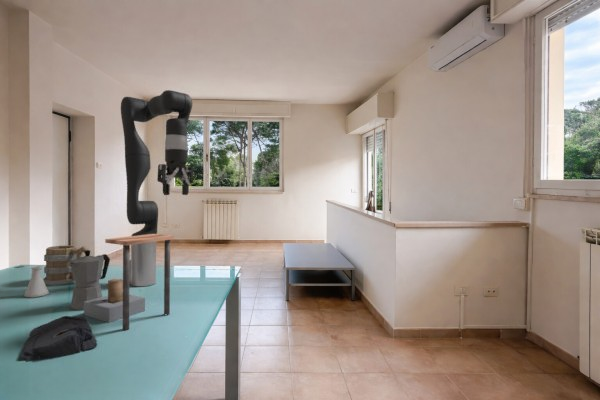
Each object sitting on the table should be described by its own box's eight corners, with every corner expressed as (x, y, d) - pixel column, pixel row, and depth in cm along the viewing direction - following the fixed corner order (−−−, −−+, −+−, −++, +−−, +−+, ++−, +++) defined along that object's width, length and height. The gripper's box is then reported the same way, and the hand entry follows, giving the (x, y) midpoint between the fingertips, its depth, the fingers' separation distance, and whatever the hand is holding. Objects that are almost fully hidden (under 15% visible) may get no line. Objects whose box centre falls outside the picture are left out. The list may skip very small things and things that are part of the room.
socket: (83, 315, 110) (83, 301, 110) (119, 304, 121) (120, 292, 121) (109, 322, 105) (109, 308, 105) (144, 310, 115) (145, 298, 115)
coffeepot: (80, 313, 112) (81, 254, 111) (57, 310, 115) (57, 252, 114) (119, 299, 126) (120, 247, 126) (98, 296, 129) (98, 245, 129)
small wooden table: (104, 325, 103) (105, 239, 102) (152, 309, 117) (152, 233, 116) (126, 331, 98) (126, 241, 98) (172, 314, 112) (173, 235, 112)
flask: (53, 294, 132) (53, 266, 132) (31, 299, 125) (31, 270, 125) (41, 291, 135) (41, 264, 135) (19, 296, 128) (19, 267, 128)
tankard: (35, 283, 146) (35, 245, 146) (66, 276, 158) (66, 241, 158) (70, 289, 139) (70, 249, 138) (100, 281, 151) (100, 245, 150)
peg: (105, 313, 112) (105, 280, 112) (116, 310, 116) (117, 278, 115) (113, 315, 110) (113, 282, 110) (125, 312, 114) (125, 279, 114)
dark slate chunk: (94, 322, 106) (94, 306, 106) (97, 352, 87) (97, 332, 87) (28, 332, 98) (28, 314, 98) (15, 367, 79) (15, 345, 79)
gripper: (183, 151, 138) (183, 194, 139) (152, 147, 126) (152, 194, 126) (198, 150, 135) (198, 195, 135) (168, 146, 122) (167, 195, 122)
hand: (176, 194), depth 131 cm, fingers open, 8 cm apart
